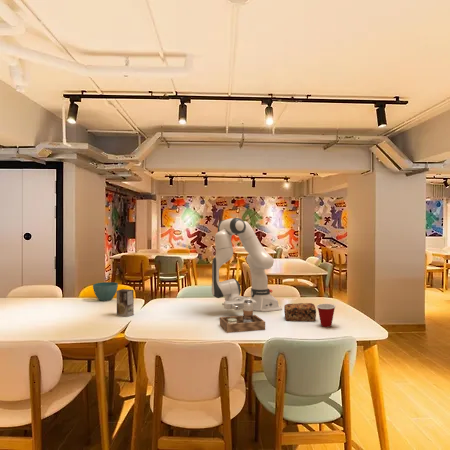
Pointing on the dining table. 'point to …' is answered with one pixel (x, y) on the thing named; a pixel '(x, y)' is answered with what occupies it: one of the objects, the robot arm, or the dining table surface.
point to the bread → (300, 312)
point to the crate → (242, 324)
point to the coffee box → (125, 302)
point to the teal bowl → (105, 290)
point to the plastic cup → (326, 314)
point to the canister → (247, 311)
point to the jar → (232, 320)
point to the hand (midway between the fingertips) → (244, 307)
